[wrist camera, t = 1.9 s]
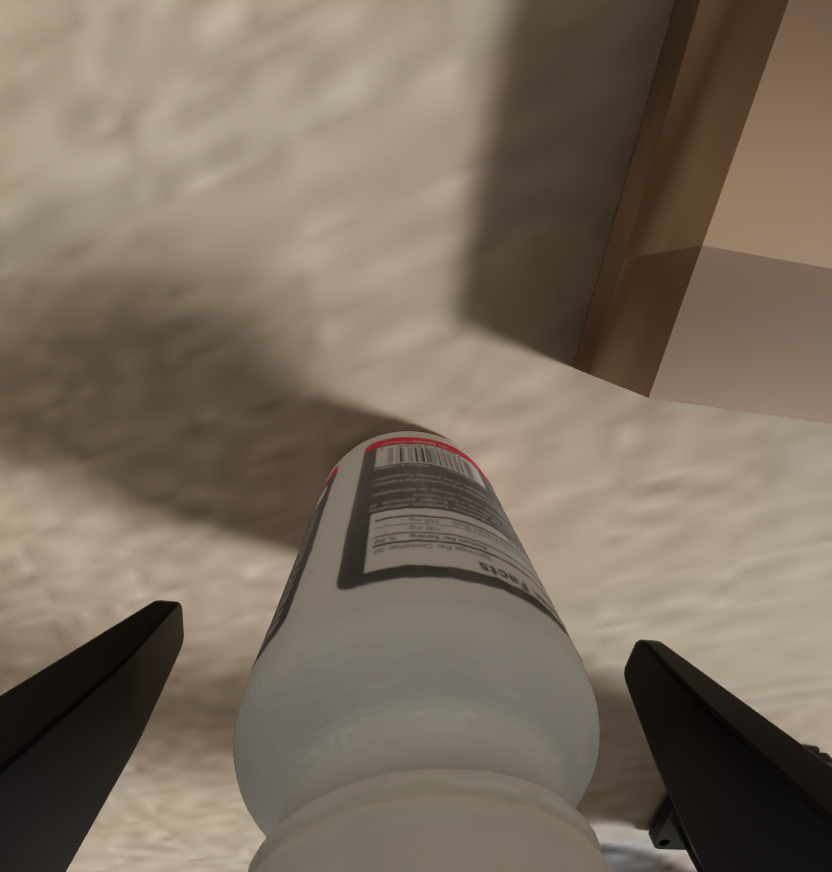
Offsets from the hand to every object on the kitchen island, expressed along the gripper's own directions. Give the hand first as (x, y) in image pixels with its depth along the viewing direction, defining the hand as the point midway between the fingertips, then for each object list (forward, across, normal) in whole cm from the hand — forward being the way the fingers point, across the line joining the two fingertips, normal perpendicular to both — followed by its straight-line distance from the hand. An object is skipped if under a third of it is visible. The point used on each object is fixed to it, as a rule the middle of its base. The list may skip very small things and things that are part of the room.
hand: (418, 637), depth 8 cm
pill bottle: (+5, 0, 0) cm, 5 cm away
